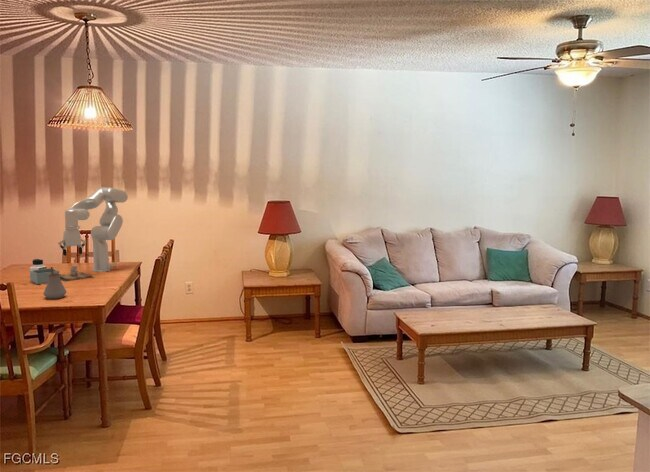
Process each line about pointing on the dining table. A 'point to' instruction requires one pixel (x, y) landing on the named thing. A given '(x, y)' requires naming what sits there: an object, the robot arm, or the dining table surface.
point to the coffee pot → (54, 286)
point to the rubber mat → (76, 279)
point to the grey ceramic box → (41, 276)
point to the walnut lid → (74, 275)
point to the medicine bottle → (37, 265)
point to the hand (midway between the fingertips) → (72, 254)
